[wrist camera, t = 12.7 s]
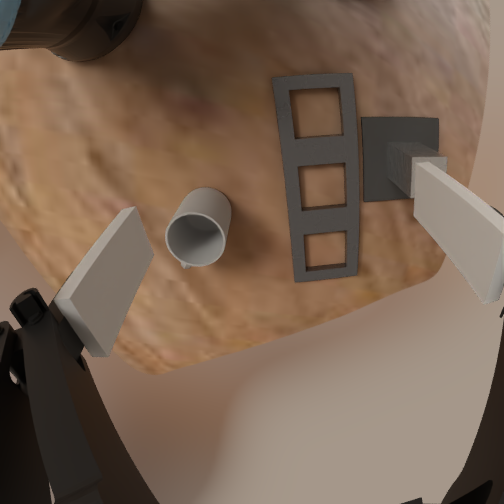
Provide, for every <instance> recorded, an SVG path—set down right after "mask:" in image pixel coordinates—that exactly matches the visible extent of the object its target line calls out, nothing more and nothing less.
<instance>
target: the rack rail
mask: <svg viewBox="0 0 504 504" xmlns="http://www.w3.org/2000/svg"><path fill="white" fill-rule="evenodd" d="M272 84H273V91H274V99H275V106H276V113H277V121H278V128H279V136H280V144H281V153H282V161H283V170H284V178H285V187H286V197H287V206H288V216H289V226H290V237H291V247H292V259H293V270H294V281H295V282H305V281H314V280H322V279H331V278H339V277H348V276H356V275H357V268H358V246H359V158H358V136H357V120H356V106H355V95H354V84H353V75H352V73H335V74H311V75H296V76H284V77H274V78H272ZM329 87H338V94H339V105H340V116H341V129H342V134H337V135H322V136H309V137H298V138H294V129H293V120H292V112H291V104H290V96H289V90H296V89H310V88H329ZM331 163H344V185H345V204H337V205H326V206H316V207H306V208H301V199H300V187H299V176H298V166H308V165H319V164H331ZM344 230H345V263H340V264H331V265H323V266H314V267H305V252H304V237H303V235H306V234H315V233H325V232H334V231H344Z"/></svg>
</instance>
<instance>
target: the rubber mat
mask: <svg viewBox="0 0 504 504" xmlns="http://www.w3.org/2000/svg"><path fill="white" fill-rule="evenodd" d="M361 125H362V145H363V183H364V202H369V201H381V200H394V199H408V198H410V197H409V196H408V195H406V194H405V193H404V192H403V191H402V190H401V189H400V188H399V187H398V186H397V185H395V184H394V183H393V182H392V181H391V180H390V179H389V178H388V177H387V142H419V143H421V144H423V145H425V146H427V147H429V148H431V149H433V150H435V151H437V152H438V148H439V119H438V118H420V117H361Z"/></svg>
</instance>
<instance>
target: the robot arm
mask: <svg viewBox="0 0 504 504" xmlns="http://www.w3.org/2000/svg"><path fill="white" fill-rule="evenodd" d="M141 7H142V0H0V50H11V49H28V48H46V49H48V50H50V51H51V52H52V53H53V54H54V55H56V56H57V57H59V58H62V59H64V60H69V61H89V60H93V59H96V58H99V57H101V56H104V55H106V54H107V53H109V52H110V51H112V50H113V49H115V48H116V47H117V46H118V45H119V44H120V43H122V42H123V40H124V39H125V38H126V37H127V36H128V35H129V33H130V32H131V30H132V29H133V27H134V26H135V24H136V22H137V20H138V17H139V15H140V11H141ZM414 217H415V218H416V219H417V220H418V222H419V223H420V224H421V225H422V226H423V227H424V228H425V230H426V231H427V232H428V233H429V234H430V235H431V237H432V238H433V239H434V240H435V241H436V242H437V244H438V245H439V246H440V247H441V249H442V250H443V251H444V252H445V253H446V255H447V256H448V257H449V258H450V260H451V261H452V262H453V264H454V265H455V266H456V267H457V269H458V270H459V271H460V273H461V274H462V275H463V276H464V278H465V279H466V280H467V282H468V283H469V285H470V286H471V287H472V289H473V290H474V292H475V293H476V294H477V296H478V297H479V299H480V300H481V302H482V303H483V304H488V303H491V302H494V301H497V300H499V298H500V295H501V292H502V290H503V287H504V216H503V215H502V214H501V213H500V212H499V211H498V210H496V209H495V208H493V207H491V206H489V205H488V204H487V203H485V202H484V201H483V200H482V199H480V198H479V197H478V196H476V195H475V194H474V193H473V192H471V191H470V190H469V189H467V188H466V187H464V186H463V185H462V184H460V183H459V182H458V181H456V180H455V179H453V178H452V177H451V176H449V175H448V174H446V173H445V172H443V171H442V170H440V169H439V168H437V167H436V166H434V165H433V164H431V163H430V162H420V163H415V199H414ZM153 256H154V253H153V250H152V248H151V245H150V243H149V240H148V238H147V235H146V232H145V230H144V227H143V224H142V222H141V219H140V216H139V213H138V211H137V208H136V206H134V207H130V208H126V209H122V210H121V211H120V213H119V214H118V215H117V216H116V217H115V219H114V220H113V221H112V222H111V223H110V225H109V226H108V227H107V228H106V230H105V231H104V232H103V233H102V235H101V236H100V237H99V238H98V240H97V241H96V242H95V243H94V245H93V246H92V247H91V249H90V250H89V251H88V252H87V254H86V255H85V256H84V258H83V259H82V260H81V262H80V263H79V264H78V266H77V267H76V269H75V270H74V271H73V272H72V273H71V274H70V276H69V277H68V278H67V280H66V282H65V283H64V284H63V285H62V288H61V289H60V290H59V291H58V293H57V294H56V296H55V297H54V299H53V300H52V301H51V303H50V305H49V306H47V304H46V303H45V301H44V300H43V298H42V296H41V295H40V293H39V292H38V290H37V289H36V288H31V289H28V290H26V291H24V292H22V293H21V294H20V295H19V296H17V297H16V298H15V299H14V301H13V302H12V303H11V305H10V311H11V312H12V314H13V315H14V317H15V318H16V320H17V321H18V322H19V324H20V325H21V327H22V328H20V329H17V330H14V329H13V328H12V327H11V325H10V324H9V322H8V321H3V322H1V323H0V504H52V502H51V495H50V487H49V482H50V485H51V488H52V491H53V494H54V498H55V503H54V504H159V502H158V501H157V499H156V498H155V496H154V495H153V494H152V492H151V490H150V489H149V487H148V486H147V484H146V482H145V481H144V479H143V478H142V476H141V474H140V473H139V471H138V469H137V468H136V466H135V464H134V462H133V461H132V459H131V457H130V455H129V454H128V452H127V450H126V448H125V446H124V444H123V442H122V441H121V439H120V437H119V435H118V433H117V431H116V429H115V427H114V425H113V423H112V421H111V419H110V417H109V415H108V412H107V410H106V408H105V406H104V404H103V401H102V399H101V397H100V395H99V392H98V390H97V388H96V385H95V383H94V380H93V378H92V375H91V373H90V370H89V368H88V365H87V363H86V360H85V359H84V357H83V356H82V355H81V352H82V350H83V348H84V346H85V348H86V349H87V350H88V352H89V353H90V354H91V356H92V357H109V355H110V352H111V350H112V348H113V345H114V343H115V340H116V338H117V335H118V333H119V331H120V328H121V326H122V324H123V321H124V319H125V317H126V314H127V312H128V310H129V308H130V305H131V303H132V301H133V299H134V297H135V294H136V292H137V290H138V288H139V286H140V283H141V281H142V279H143V277H144V275H145V273H146V271H147V269H148V267H149V265H150V262H151V260H152V258H153ZM503 314H504V307H503V309H502V312H501V314H500V318H502V316H503ZM10 372H11V373H12V374H13V375H14V376H15V377H16V378H17V383H16V384H15V383H14V382H13V381H12V380H11V377H10ZM401 504H423V503H422V498H418V499H415V500H412V501H408V502H405V503H401ZM441 504H504V322H503V329H502V336H501V342H500V348H499V353H498V358H497V364H496V368H495V373H494V377H493V381H492V385H491V389H490V394H489V397H488V400H487V404H486V407H485V411H484V414H483V417H482V420H481V423H480V426H479V429H478V432H477V435H476V438H475V440H474V443H473V446H472V449H471V451H470V454H469V456H468V458H467V461H466V463H465V466H464V468H463V470H462V472H461V474H460V475H459V477H458V478H457V479H456V481H455V482H454V483H453V485H452V486H451V487H450V489H449V490H448V492H447V494H446V496H445V497H444V499H443V501H442V503H441Z"/></svg>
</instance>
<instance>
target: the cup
mask: <svg viewBox="0 0 504 504" xmlns="http://www.w3.org/2000/svg"><path fill="white" fill-rule="evenodd" d="M230 221H231V206H230V202H229V201H228V199H227V198H226V196H225V195H223V194H222V193H221V192H220V191H218V190H216V189H213V188H209V187H201V188H198V189H195V190H193V191H191V192H190V193H189V194H188V195H187V196H186V197H185V198H184V200H183V201H182V203H181V204H180V206H179V208H178V209H177V211H176V213H175V214H174V216H173V218H172V219H171V221H170V223H169V225H168V227H167V229H166V234H165V239H166V244H167V247H168V249H169V251H170V252H171V253H172V255H173V256H174V257H175V258H176V259H178V260H179V261H181V266H182V267H183V268H184V269H189V268H190V267H191V266H205V265H209V264H211V263H213V262H215V261H216V260H217V259H219V258H220V256H221V255H222V253H223V252H224V248H225V245H226V240H227V235H228V230H229V225H230Z"/></svg>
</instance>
